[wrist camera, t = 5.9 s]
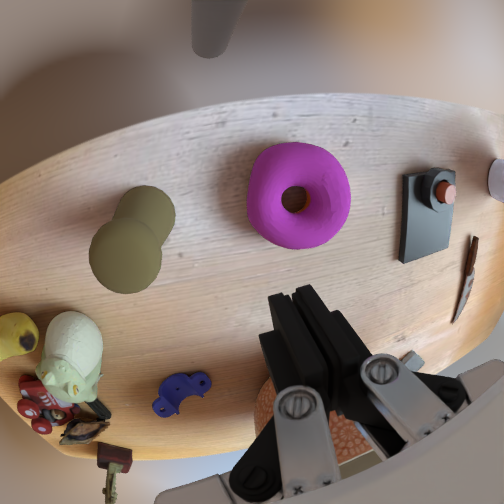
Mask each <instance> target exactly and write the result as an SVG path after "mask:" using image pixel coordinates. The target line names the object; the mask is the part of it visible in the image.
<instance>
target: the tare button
mask: <svg viewBox="0 0 504 504" xmlns="http://www.w3.org/2000/svg"><path fill="white" fill-rule="evenodd" d="M436 198H437V199H438V200H439V201H441V202H444V203H446V204H448V205H449V204H452V203H453V202H454V200H455V198H456V188H455V186H454V185H452V184H450V183H447V182H444V181H442V182H440V183H439V184H438V186H437V189H436Z"/></svg>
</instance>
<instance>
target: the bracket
mask: <svg viewBox="0 0 504 504" xmlns="http://www.w3.org/2000/svg"><path fill="white" fill-rule="evenodd" d="M201 381H203V383H201V384H200V382H201ZM210 387H211V381H210V379H209V378H208V377H207V375H206V374H205V373H203V372H197V373H195V374H193V375H192V376H190V377H188V376H187V375H186V374H183V373H178V374H174V375H171V376H170V377H168V378H167V379H165V380H164V381H163V382H162V384H161V385H160V387H159V390H158V395H159V398H157V399H156V400H155V401H154V402H153V403H152V408H153V410H154V412H155V413H156V414H157V415H158V416H160V417H163V418H166V417H170V416H171V415H173V414H174V413H176V414H177V415H178V414H179V405H180V403H181V402H182V401H183V400H184V399H185V398H186V397H188V396H191V395H198V396H200V397H202V398H203V397H204V395H203V394H204V393H205V392H207V391H208V390H209V389H210ZM176 388H177V389H176ZM161 408H164V409H163V410H160V409H161Z"/></svg>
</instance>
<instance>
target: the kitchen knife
mask: <svg viewBox="0 0 504 504" xmlns="http://www.w3.org/2000/svg"><path fill="white" fill-rule="evenodd" d="M478 240H479V238H478V237H476V236H473V240H472V244H471V247H470V251H469V255H468V259H467V267H466V269H465V275H466V279H465V283H464V287H463V290H462V294H461V298H460V301H459V305H458V308H457V311H456V314H455V317H454V320H453V323H454V322H455V321H456V320H457V319H458V317H459V315H460V314H461V312H462V310H463V308H464V306H465V304H466V302H467V300H468V297H469V294H470V291H471V288H472V284H473V280H474V267H473V266H474V264H475V260H476V255H477V249H478ZM453 323H452V324H453Z"/></svg>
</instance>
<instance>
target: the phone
mask: <svg viewBox="0 0 504 504" xmlns="http://www.w3.org/2000/svg"><path fill="white" fill-rule="evenodd" d="M401 362H402V363H403V364H404V365H405V366H406V367H407V368H408V369H409V370H410V371H414V372H417V371H418V370H419V369H420V368H421V367H422V366H423V365H424V364H425V362H424V361H423V360H422V359H421V358H420V357H419V356H418V355H417V354H416V353H415V352H414V351H410V352H409V353H408V354H407V355H406V356H405V357H404V358H403V359H402V360H401Z"/></svg>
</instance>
